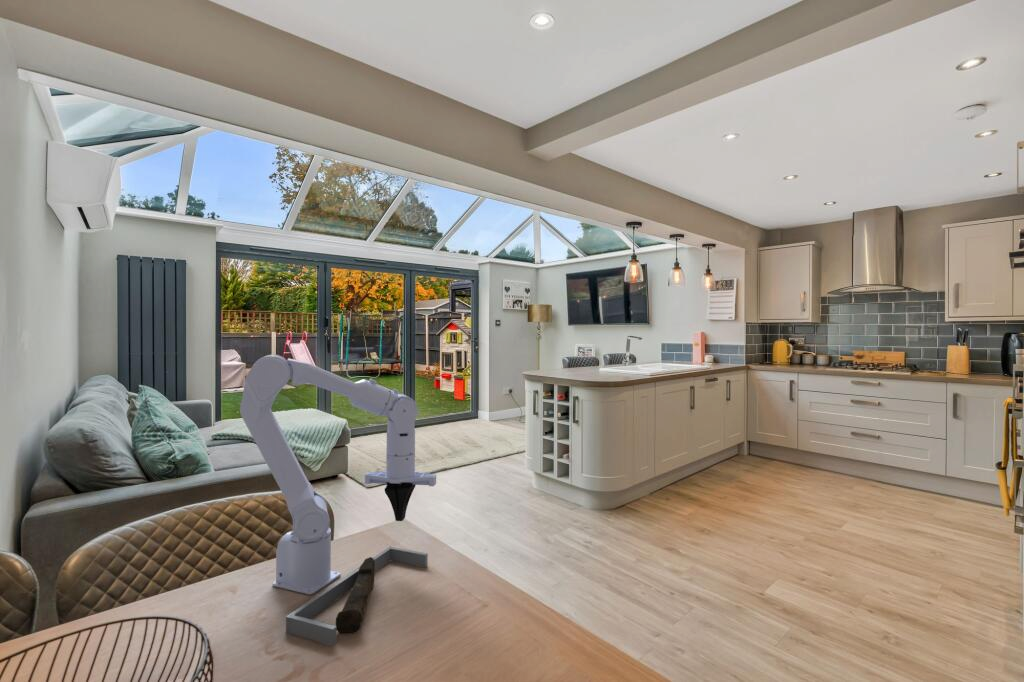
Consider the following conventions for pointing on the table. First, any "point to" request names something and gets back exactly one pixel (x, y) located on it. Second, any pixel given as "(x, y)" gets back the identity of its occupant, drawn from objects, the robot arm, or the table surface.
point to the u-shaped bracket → (326, 633)
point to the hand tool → (357, 599)
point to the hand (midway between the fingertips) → (400, 519)
